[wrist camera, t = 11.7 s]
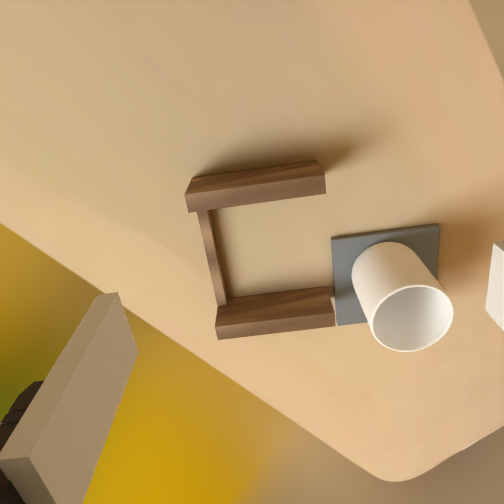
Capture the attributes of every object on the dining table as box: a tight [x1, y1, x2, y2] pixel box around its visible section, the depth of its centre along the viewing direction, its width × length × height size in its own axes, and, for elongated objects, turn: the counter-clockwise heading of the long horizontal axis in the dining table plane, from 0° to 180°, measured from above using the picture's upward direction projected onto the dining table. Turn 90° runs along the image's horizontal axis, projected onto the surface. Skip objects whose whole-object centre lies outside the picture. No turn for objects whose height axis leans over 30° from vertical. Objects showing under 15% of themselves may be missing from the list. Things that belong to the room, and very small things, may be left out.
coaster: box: [331, 224, 440, 326], centre depth 54 cm, size 13×13×1 cm
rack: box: [185, 160, 335, 340], centre depth 49 cm, size 19×14×6 cm
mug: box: [352, 242, 454, 352], centre depth 49 cm, size 9×12×11 cm
